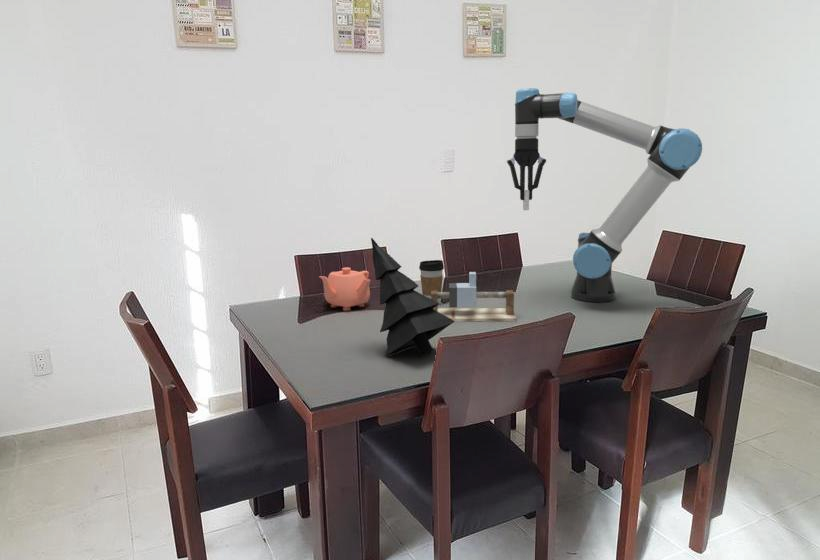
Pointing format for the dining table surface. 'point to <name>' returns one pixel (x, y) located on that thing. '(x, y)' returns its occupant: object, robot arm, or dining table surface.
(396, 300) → the decorative tree
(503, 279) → the dining table surface
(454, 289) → the collar
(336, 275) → the teapot
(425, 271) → the coffee cup
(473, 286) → the blue-grey block with post
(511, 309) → the pipe rig
